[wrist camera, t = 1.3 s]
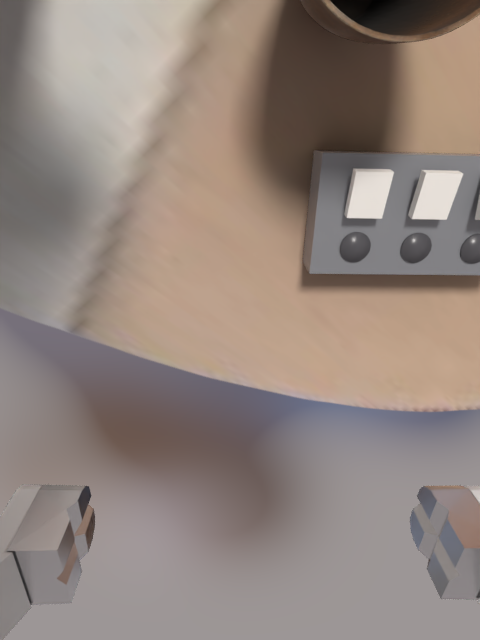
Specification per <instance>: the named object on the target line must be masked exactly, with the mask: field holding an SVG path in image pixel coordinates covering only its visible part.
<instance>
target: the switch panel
mask: <svg viewBox="0 0 480 640" xmlns="http://www.w3.org/2000/svg"><path fill="white" fill-rule="evenodd" d="M353 168H354V169H391V170H392V171H393V172H394V175H393V178H392V182H391V186H390V190H389V194H388V197H387V201H386V205H385V209H384V213H383V217H382V219H372V218H346V216H345V215H344V213H345V208H346V203H347V198H348V193H349V188H350V183H351V178H352V173H353ZM422 170H448V171H459V172H461V173H463V176H462V179H461V182H460V184H459V187H458V190H457V193H456V195H455V198H454V201H453V203H452V206H451V209H450V212H449V214H448V217H447V220H436V219H411V218H410V217H409V216H408V214H409V210H410V207H411V204H412V200H413V197H414V194H415V190H416V187H417V184H418V180H419V177H420V174H421V171H422ZM479 194H480V154H447V153H404V152H361V151H318V150H314V154H313V164H312V174H311V184H310V194H309V204H308V214H307V224H306V234H305V244H304V254H303V264H304V265H305V267H306V269H307V270H308V272H309V274H397V275H480V220H475V215H476V210H477V205H478V199H479Z"/></svg>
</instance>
